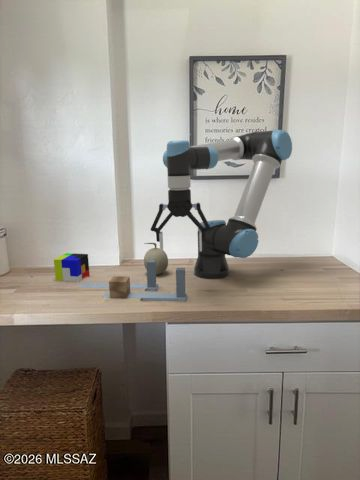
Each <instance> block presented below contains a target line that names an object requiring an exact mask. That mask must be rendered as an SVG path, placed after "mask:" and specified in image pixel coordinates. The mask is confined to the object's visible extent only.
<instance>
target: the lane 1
mask: <svg viewBox="0 0 360 480" xmlns="http://www.w3.org/2000/svg"><path fill="white" fill-rule="evenodd" d="M146 263H147V270H146V283H130V289H144V291H145V292H157V291H158V288H159V283H157V275H156V260H148V261H147V262H146Z"/></svg>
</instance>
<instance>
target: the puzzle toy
mask: <svg viewBox="0 0 360 480" xmlns="http://www.w3.org/2000/svg"><path fill="white" fill-rule="evenodd" d="M89 263H90V262H89V254H88V253H69V252H68V253H64V254H62V255H60V256H58V257H55V258H54V259H53V264H54V265H53V267H54V276H55V281H58V282H74V283H79V282H81V280H83V279H85V278H86V277H90V265H89Z"/></svg>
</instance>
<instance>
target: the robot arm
mask: <svg viewBox="0 0 360 480" xmlns="http://www.w3.org/2000/svg"><path fill="white" fill-rule="evenodd" d="M190 143H191V142H190V141H189V140H171V141H168V142H167V144H166V150H165V151H164V152H163V155H162V163H163V165H164V166H165V167H166V168H167V169H166V170H167V188H168V189H169V190H168V191H167V195H168V196H167V199H168V200H167V201H168V203H166V204H165V203H163V202H161V203H159V205H158V211H157V213H156V216H155V218H154V220H153V223H152V225H151V227H150V231H151V232H154V233H156V234H155V235H156V240H155V241H156V242H159V248H160V252H162V251H164V239H163V238H164V237H163V236H164V234H163V231H162V229H163V228H164V227H165V226H166V225H167V223H168V222H169V220H170V219H171V218H172V217H175V218H178V217H179V218H180V217H181V218H185V217H188V219H190V220H191V222H193V224H194V225H195V226H196V227H197V258H196V261H195V265H194V268H193V274H194V275H195V276H197V277H198V278H202V279H208V280H209V279H211V280H213V279H222V278H225V277H228V276H229V275H230V268H229V264H228V260H227V259H226V255H227V256H231V257H234V258H239V259H240V258H241V259H245V258H246V259H247V258H248V257H250V256H252V255H253V254H254V253H255V252H256V250H257V247H258V245H259V234H258V233H257V229H258V228H257V226H256V224H255V223H256V221H257V218H258V215H259V213H260V211H261V207H262V205H263V201H264V199H265V196H266V194H267V191H268V188H269V186H270V183H271V180H272V177H273V175H274V172H275V170H277V169H279V168H280V167H281V164H282V161H286V160H289V158H290V157H291V155H292V153H293V152H292V151H293V141H292V138H291V136H290V134H289V133H288V132H287V131H286V130H284V129H273V130H264V131H253V132H252V131H251V132H250V133H249V132H248V133H245V134H243V135H238V136H233V137H230V139H229V140H223V141H221V140H220V141H216V142H210V143H203V144H197V145H190ZM226 160H232V161H239V160H249V161H253V165H252V168H251V170H250V172H249V173H250V174H249V176H248V178H247V181H246V184H245V186H244V188H243V189H244V190H243V191H242V194H241V197H240V199H239V202H238V205H237V208H236V210H235V213H234V216H231V217H230V218H228V220H227V223H226V220H224V219H218V220H217V219H216V220H215V219H214V220H207V218H206V216H205V214H204V212H203V210H202V208H201V203H200V202H196V203H192V193H191V171H192V170H210V169H211V170H212V169H214V168H215V167H216V166H217V165H218V163H219V162H221V161H226ZM166 209H168V211H169V214H167V216H166V217H165V218H164V219H163V220H162V222H161V224H159V226H158V227H157V225H158V223H159V221H160V218H161V216H162V214H163V211H165V210H166ZM192 209H194V210H195V211H197V213H198V216H199V217H200V219H201V222H200V221H199V220H198V219H197V218H196V217H195V216H194V215H193V212H192Z"/></svg>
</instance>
